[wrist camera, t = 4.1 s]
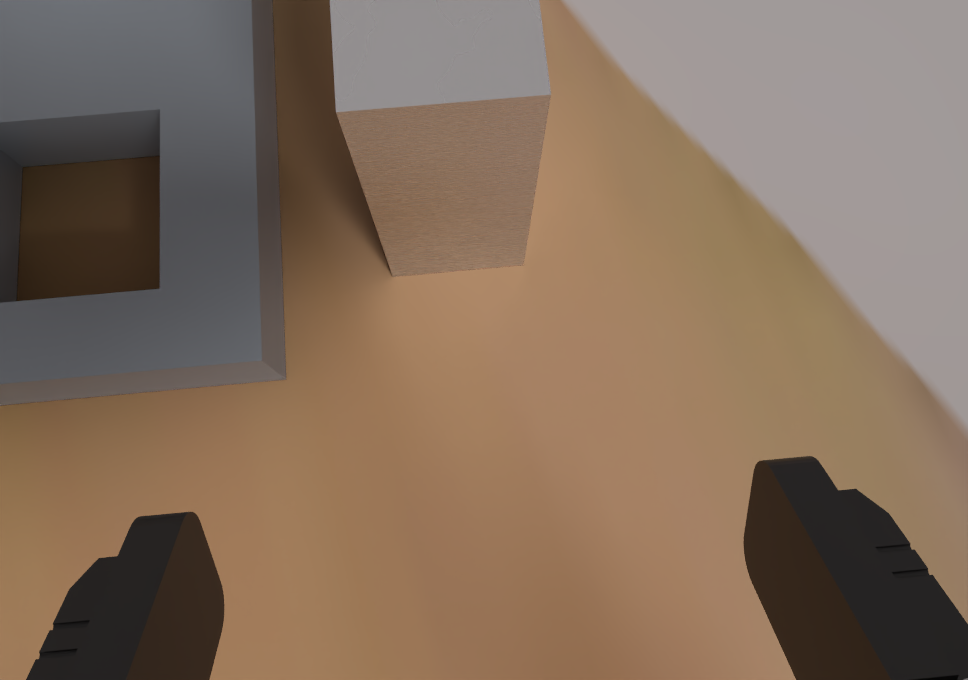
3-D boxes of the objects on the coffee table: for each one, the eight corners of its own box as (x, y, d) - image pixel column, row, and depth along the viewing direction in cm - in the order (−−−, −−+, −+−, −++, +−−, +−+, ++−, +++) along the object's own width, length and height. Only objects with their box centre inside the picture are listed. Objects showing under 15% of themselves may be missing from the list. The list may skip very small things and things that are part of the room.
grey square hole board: (286, 379, 26) (261, 360, 23) (-81, 412, 26) (-152, 397, 23) (266, -165, 31) (244, -236, 28) (-41, -143, 31) (-95, -212, 28)
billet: (523, 265, 27) (550, 94, 17) (392, 276, 27) (335, 112, 16) (510, 146, 28) (528, -87, 18) (384, 156, 28) (325, -72, 18)
